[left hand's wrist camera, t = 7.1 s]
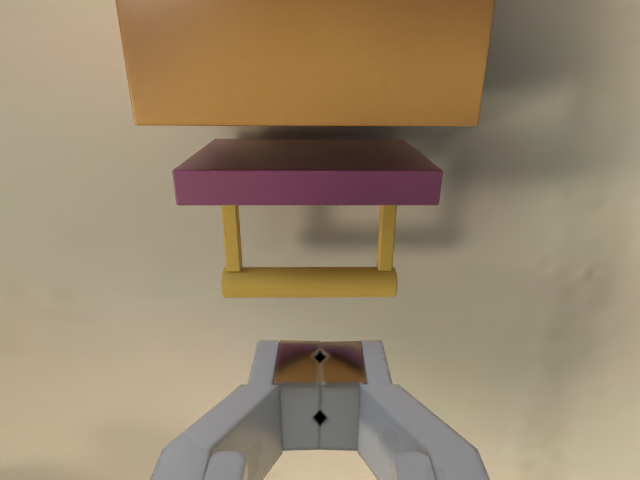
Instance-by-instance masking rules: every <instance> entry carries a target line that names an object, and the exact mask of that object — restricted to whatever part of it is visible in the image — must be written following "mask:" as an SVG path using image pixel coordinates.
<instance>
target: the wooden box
mask: <svg viewBox="0 0 640 480" xmlns="http://www.w3.org/2000/svg"><path fill="white" fill-rule="evenodd" d="M495 1H496V0H116V6H117V13H118V19H119V26H120V32H121V39H122V45H123V52H124V58H125V65H126V71H127V78H128V85H129V91H130V98H131V104H132V111H133V117H134V123H135V124H136V125H166V126H477V125H478V123H479V116H480V109H481V102H482V95H483V87H484V80H485V73H486V66H487V59H488V51H489V44H490V37H491V30H492V23H493V15H494V8H495Z"/></svg>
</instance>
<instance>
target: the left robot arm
mask: <svg viewBox="0 0 640 480" xmlns="http://www.w3.org/2000/svg"><path fill="white" fill-rule="evenodd" d="M286 450H354V451H358V454H359V455H360V456H361V458H362V459H363V460H364V462H365V463H366V465H367V466H368V467H369V469H370V470H371V471H372V473H373V474H374V475H375V477H376V478H377V480H490V478H489V476H488V474H487V471H486V469H485V466H484V464H483V462H482V459H481V457H480V454H479V452H478V449H476V448H475V447H474V446H473V445H472V444H470V443H469V442H468V441H467V440H465V439H464V438H463V437H462V436H461V435H459V434H458V433H457V432H456V431H454V430H453V429H452V428H451V427H450V426H448V425H447V424H446V423H445V422H443V421H442V420H441V419H440V418H439V417H437V416H436V415H435V414H434V413H433V412H431V411H430V410H429V409H428V408H426V407H425V406H424V405H423V404H422V403H420V402H419V401H418V400H417V399H415V398H414V397H413V396H412V395H411V394H409V393H408V392H407V391H406V390H404V389H403V388H402V387H401V386H400V385H392V380H391V376H390V372H389V367H388V363H387V359H386V355H385V350H384V346H383V342H382V341H381V340H368V341H341V342H320V341H283V340H280V341H278V340H259V342H258V343H257V346H256V350H255V354H254V359H253V363H252V367H251V372H250V376H249V380H248V384H247V385H240V386H239V387H238V388H237V389H236V390H234V391H233V392H232V393H231V394H229V395H228V396H227V397H226V398H224V399H223V400H222V401H221V402H220V403H218V404H217V405H216V406H215V407H213V408H212V409H211V410H210V411H209V412H207V413H206V414H205V415H204V416H202V417H201V418H200V419H199V420H198V421H196V422H195V423H194V424H193V425H191V426H190V427H189V428H188V429H187V430H185V431H184V432H183V433H182V434H180V435H179V436H178V437H177V438H176V439H174V440H173V441H172V442H171V443H169V444H168V445H167V446H166V447H164V448H163V450H162V452H161V455H160V457H159V460H158V462H157V464H156V467H155V469H154V471H153V474H152V476H151V479H150V480H263V479H264V477H265V476H266V474H267V473H268V472H269V470H270V469H271V468H272V466H273V465H274V464H275V462H276V461H277V459H278V458H279V457H280V455H281V454H282V451H286Z"/></svg>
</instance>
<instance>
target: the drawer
mask: <svg viewBox="0 0 640 480" xmlns="http://www.w3.org/2000/svg"><path fill="white" fill-rule="evenodd" d="M172 173H173V181H174V189H175V197H176V204H177V205H221V211H222V223H223V235H224V246H225V258H226V267H225V268H224V269H223V272H222V280H221V288H222V294H223V297H225V298H239V297H395V296H396V292H397V274H396V270H395V268H394V267H392V263H393V249H394V236H395V223H396V209H397V205H439V200H440V191H441V182H442V173H443V171H442V170H441V169H440V168H439V167H437V166H436V165H435V164H434V163H432V162H431V161H430V160H429V159H427V158H426V157H425V156H424V155H422V154H421V153H420V152H419V151H417V150H416V149H415V148H414V147H412V146H411V145H410V144H409V143H407V142H406V141H405V140H397V139H215V140H213V141H212V142H210V143H209V144H208V145H206V146H205V147H204V148H202V149H201V150H200V151H198V152H197V153H195V154H194V155H193V156H191V157H190V158H189V159H187V160H186V161H185V162H183V163H182V164H181V165H179V166H178V167H176V168H175V169H174V170H173V171H172ZM238 205H380V217H379V234H378V251H377V267H242V253H241V238H240V224H239V210H238Z"/></svg>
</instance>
